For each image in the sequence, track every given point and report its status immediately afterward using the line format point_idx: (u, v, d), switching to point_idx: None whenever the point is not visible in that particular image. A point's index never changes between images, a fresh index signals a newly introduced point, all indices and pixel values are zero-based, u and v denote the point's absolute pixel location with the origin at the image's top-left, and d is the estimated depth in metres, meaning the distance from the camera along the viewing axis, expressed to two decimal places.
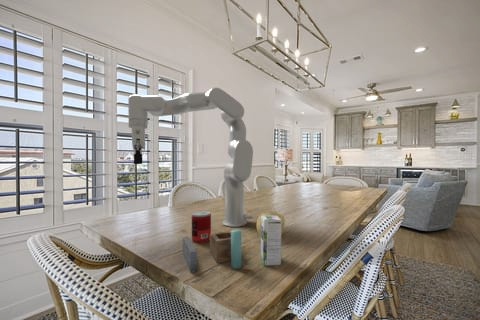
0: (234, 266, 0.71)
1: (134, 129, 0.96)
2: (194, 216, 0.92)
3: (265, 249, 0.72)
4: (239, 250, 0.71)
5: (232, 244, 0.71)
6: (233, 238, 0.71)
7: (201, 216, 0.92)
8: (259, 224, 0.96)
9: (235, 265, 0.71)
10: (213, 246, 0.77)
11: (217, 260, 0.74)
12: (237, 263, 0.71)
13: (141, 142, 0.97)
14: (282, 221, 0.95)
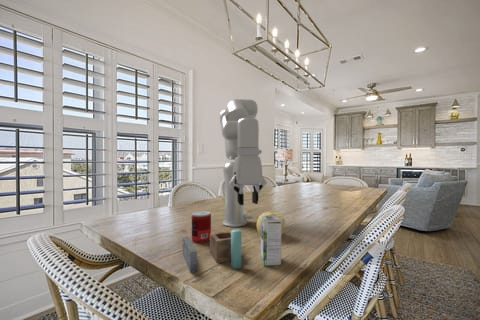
0: (234, 266, 0.71)
1: (260, 160, 0.83)
2: (194, 216, 0.92)
3: (265, 249, 0.72)
4: (239, 250, 0.71)
5: (232, 244, 0.71)
6: (233, 238, 0.71)
7: (201, 216, 0.92)
8: (259, 224, 0.96)
9: (235, 265, 0.71)
10: (213, 246, 0.77)
11: (217, 260, 0.74)
12: (237, 263, 0.71)
13: None
14: (282, 221, 0.95)
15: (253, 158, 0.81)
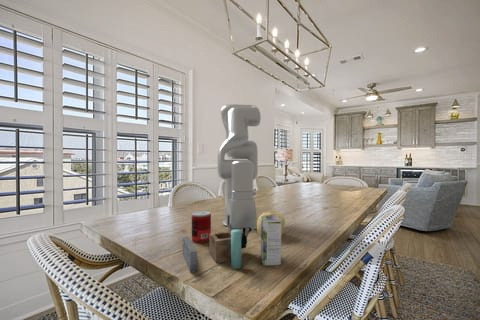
0: (234, 266, 0.71)
1: (254, 202, 0.82)
2: (194, 216, 0.92)
3: (265, 249, 0.72)
4: (239, 250, 0.71)
5: (232, 244, 0.71)
6: (233, 238, 0.71)
7: (201, 216, 0.92)
8: (259, 224, 0.96)
9: (235, 265, 0.71)
10: (212, 246, 0.77)
11: (216, 260, 0.74)
12: (237, 263, 0.71)
13: None
14: (282, 221, 0.95)
15: (247, 201, 0.80)
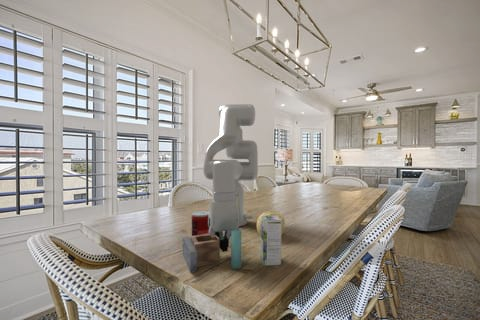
0: (234, 266, 0.71)
1: (237, 204, 0.80)
2: (194, 216, 0.92)
3: (265, 249, 0.72)
4: (239, 250, 0.71)
5: (232, 244, 0.71)
6: (233, 238, 0.71)
7: (201, 216, 0.92)
8: (259, 224, 0.96)
9: (235, 265, 0.71)
10: None
11: None
12: (237, 263, 0.71)
13: None
14: (282, 221, 0.95)
15: (229, 203, 0.77)
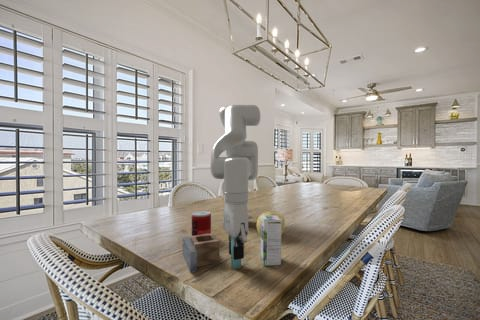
0: (234, 266, 0.71)
1: None
2: (194, 216, 0.92)
3: (265, 249, 0.72)
4: None
5: (232, 244, 0.71)
6: (233, 238, 0.71)
7: (201, 216, 0.92)
8: (259, 224, 0.96)
9: (235, 265, 0.71)
10: None
11: None
12: (237, 263, 0.71)
13: None
14: (282, 221, 0.95)
15: None
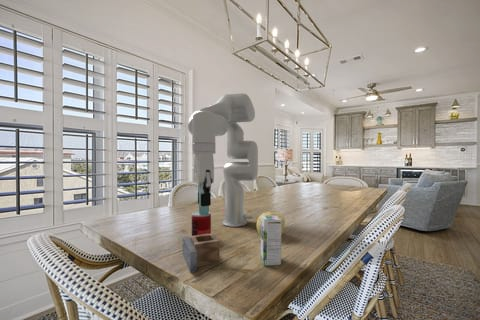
0: (201, 213, 0.75)
1: None
2: (194, 216, 0.92)
3: (265, 249, 0.72)
4: None
5: (200, 192, 0.75)
6: (200, 186, 0.75)
7: (201, 216, 0.92)
8: (259, 224, 0.96)
9: (202, 212, 0.75)
10: None
11: None
12: (204, 210, 0.75)
13: None
14: (282, 221, 0.95)
15: None
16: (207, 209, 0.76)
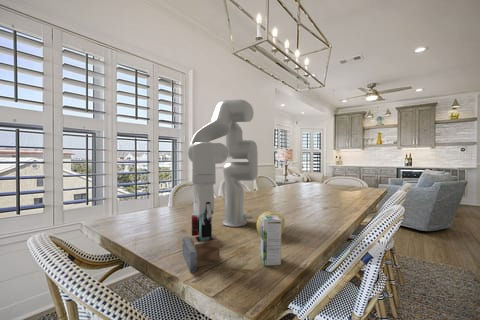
0: None
1: None
2: (194, 216, 0.92)
3: (265, 249, 0.72)
4: None
5: (200, 226, 0.76)
6: (200, 220, 0.75)
7: None
8: (259, 224, 0.96)
9: None
10: None
11: None
12: None
13: None
14: (282, 221, 0.95)
15: None
16: None
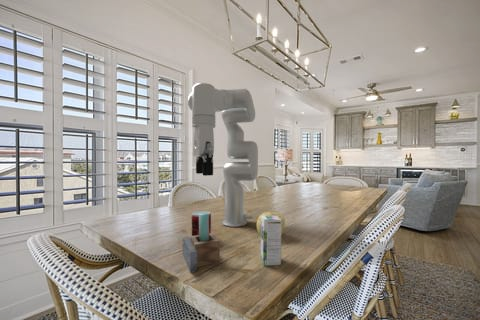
0: None
1: None
2: (194, 216, 0.92)
3: (265, 249, 0.72)
4: (206, 232, 0.76)
5: (200, 226, 0.76)
6: (200, 220, 0.76)
7: None
8: (259, 224, 0.96)
9: None
10: None
11: None
12: None
13: None
14: (282, 221, 0.95)
15: None
16: None
